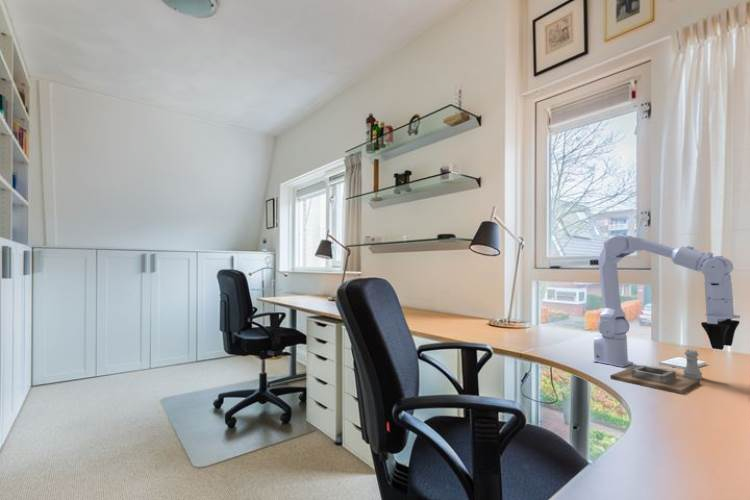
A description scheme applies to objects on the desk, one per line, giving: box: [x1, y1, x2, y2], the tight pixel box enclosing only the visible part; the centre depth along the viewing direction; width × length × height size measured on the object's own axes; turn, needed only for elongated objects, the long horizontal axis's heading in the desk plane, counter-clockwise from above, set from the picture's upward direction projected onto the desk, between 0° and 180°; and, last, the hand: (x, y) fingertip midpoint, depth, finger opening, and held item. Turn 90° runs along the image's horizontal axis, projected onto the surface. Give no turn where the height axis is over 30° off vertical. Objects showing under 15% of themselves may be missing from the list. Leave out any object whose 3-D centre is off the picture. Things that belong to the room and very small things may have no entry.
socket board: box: [609, 365, 701, 395], centre depth 107 cm, size 17×14×3 cm
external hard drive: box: [658, 356, 707, 371], centre depth 123 cm, size 2×8×12 cm
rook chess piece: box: [683, 349, 704, 380], centre depth 109 cm, size 4×4×8 cm
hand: (722, 347), depth 104 cm, fingers open, 7 cm apart
